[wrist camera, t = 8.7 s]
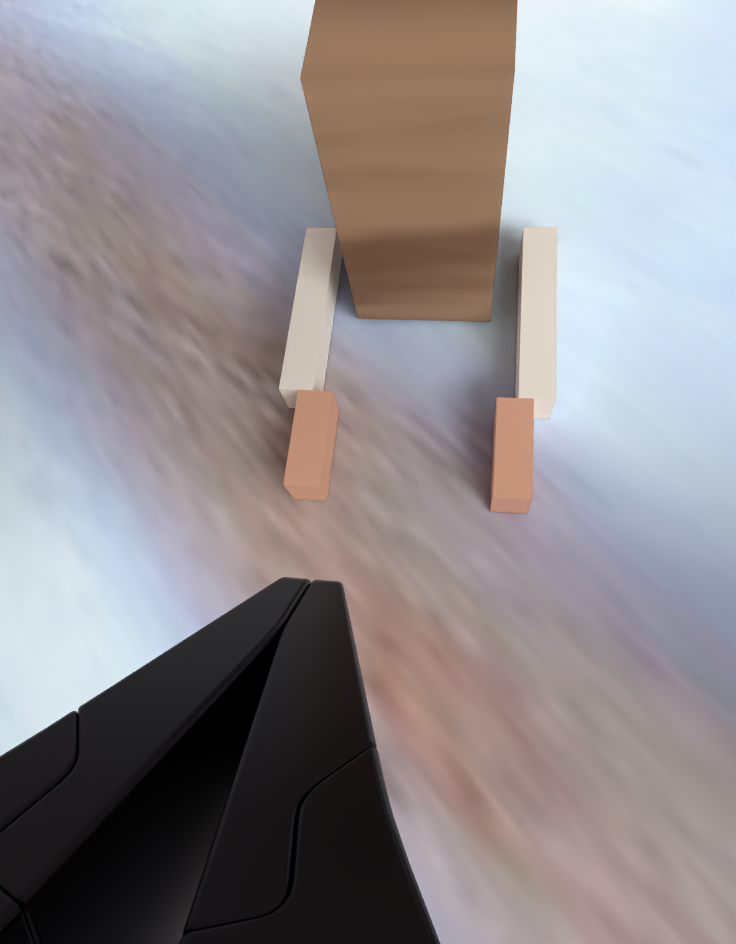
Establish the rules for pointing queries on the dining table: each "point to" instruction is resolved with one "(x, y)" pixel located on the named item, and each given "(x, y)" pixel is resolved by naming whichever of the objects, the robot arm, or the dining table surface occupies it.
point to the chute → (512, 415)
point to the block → (414, 147)
